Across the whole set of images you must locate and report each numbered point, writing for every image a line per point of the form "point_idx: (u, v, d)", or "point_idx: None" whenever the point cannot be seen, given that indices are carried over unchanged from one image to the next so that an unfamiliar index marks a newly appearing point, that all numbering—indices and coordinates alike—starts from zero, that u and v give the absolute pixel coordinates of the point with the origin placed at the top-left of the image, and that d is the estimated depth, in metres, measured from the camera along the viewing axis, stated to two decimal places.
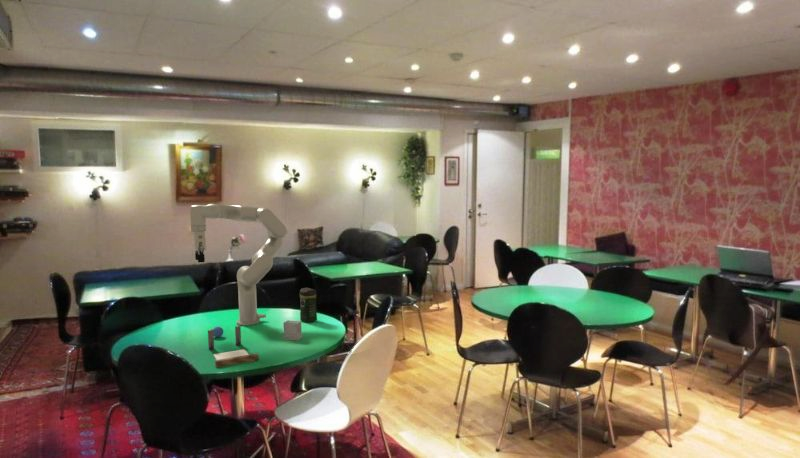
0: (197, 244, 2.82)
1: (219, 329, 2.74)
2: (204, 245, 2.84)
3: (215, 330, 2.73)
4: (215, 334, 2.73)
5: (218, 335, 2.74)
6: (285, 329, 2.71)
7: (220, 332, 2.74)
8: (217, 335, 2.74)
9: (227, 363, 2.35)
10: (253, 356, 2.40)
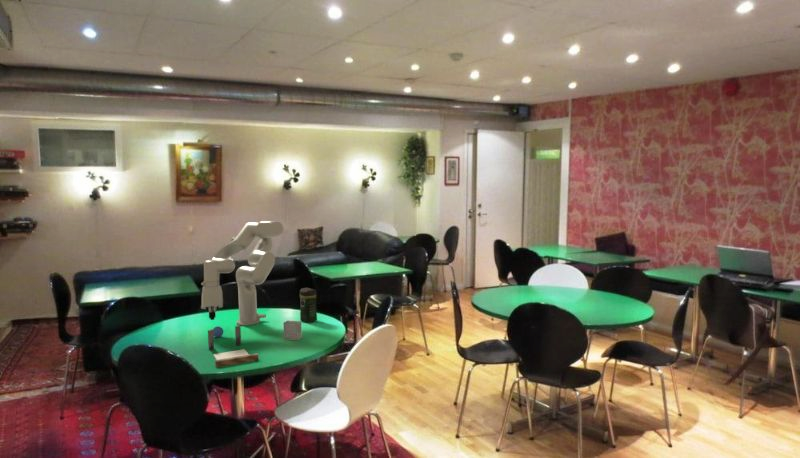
0: None
1: (219, 329, 2.74)
2: (202, 301, 2.78)
3: (215, 330, 2.73)
4: (215, 334, 2.73)
5: (218, 335, 2.74)
6: (285, 329, 2.71)
7: (220, 332, 2.74)
8: (217, 335, 2.74)
9: (227, 363, 2.35)
10: (253, 356, 2.40)
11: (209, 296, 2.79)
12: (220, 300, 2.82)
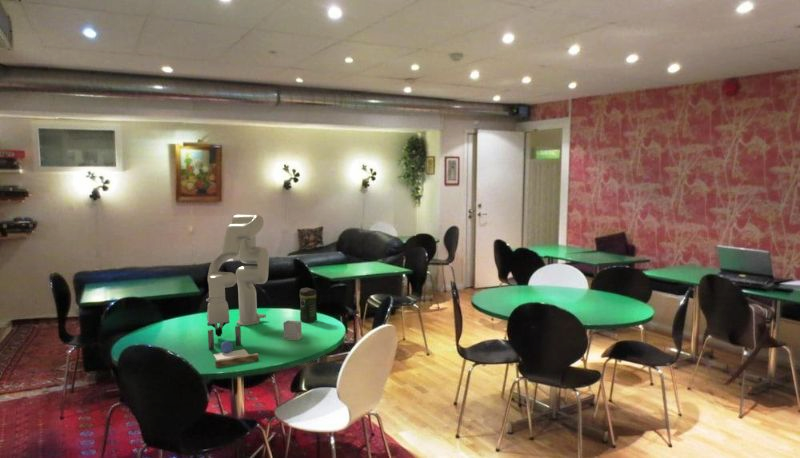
0: None
1: None
2: (208, 318, 2.68)
3: None
4: None
5: None
6: (285, 329, 2.71)
7: None
8: None
9: (227, 363, 2.35)
10: (253, 356, 2.40)
11: (215, 312, 2.69)
12: (227, 316, 2.72)
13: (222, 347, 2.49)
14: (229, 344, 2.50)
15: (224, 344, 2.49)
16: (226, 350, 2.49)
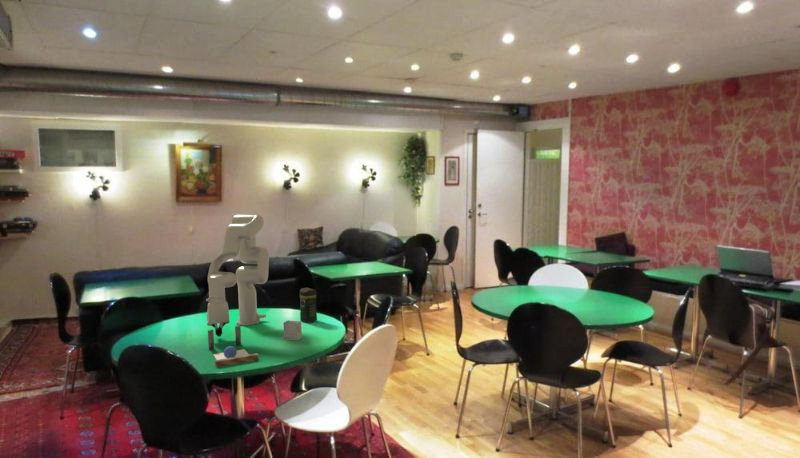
0: None
1: (232, 351, 2.42)
2: (208, 318, 2.68)
3: (227, 352, 2.41)
4: (227, 356, 2.42)
5: (230, 357, 2.42)
6: (285, 329, 2.71)
7: (233, 354, 2.42)
8: (229, 357, 2.42)
9: (227, 363, 2.35)
10: (253, 356, 2.40)
11: (215, 312, 2.69)
12: (227, 316, 2.72)
13: None
14: None
15: None
16: None
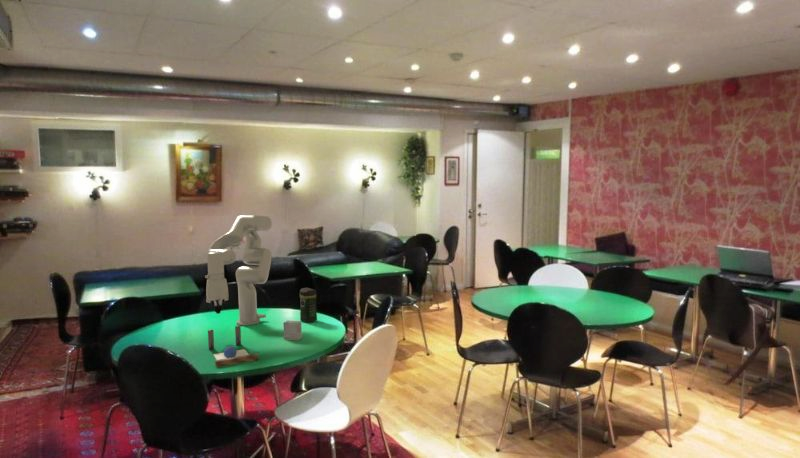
0: None
1: (232, 351, 2.42)
2: (207, 295, 2.67)
3: (227, 352, 2.41)
4: (227, 356, 2.42)
5: (230, 357, 2.42)
6: (285, 329, 2.71)
7: (233, 354, 2.42)
8: (229, 357, 2.42)
9: (227, 363, 2.35)
10: (253, 356, 2.40)
11: (214, 289, 2.68)
12: (226, 293, 2.71)
13: None
14: None
15: None
16: None
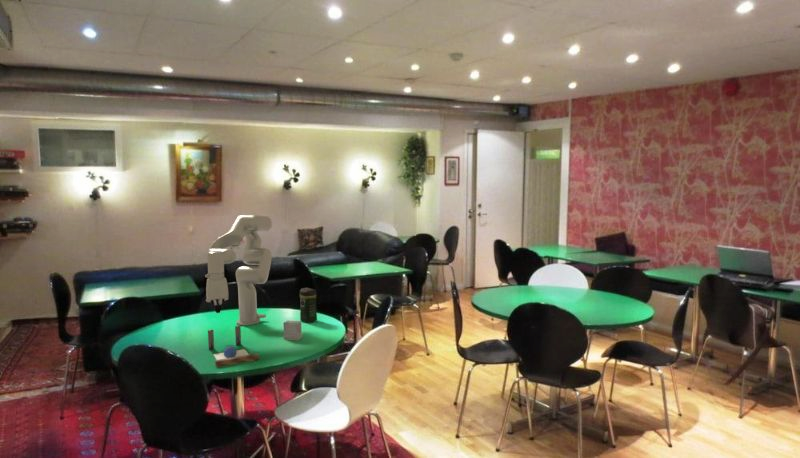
0: None
1: (232, 351, 2.42)
2: (207, 294, 2.67)
3: (227, 352, 2.41)
4: (227, 356, 2.42)
5: (230, 357, 2.42)
6: (285, 329, 2.71)
7: (233, 354, 2.42)
8: (229, 357, 2.42)
9: (227, 363, 2.35)
10: (253, 356, 2.40)
11: (214, 288, 2.68)
12: (226, 293, 2.71)
13: None
14: None
15: None
16: None
